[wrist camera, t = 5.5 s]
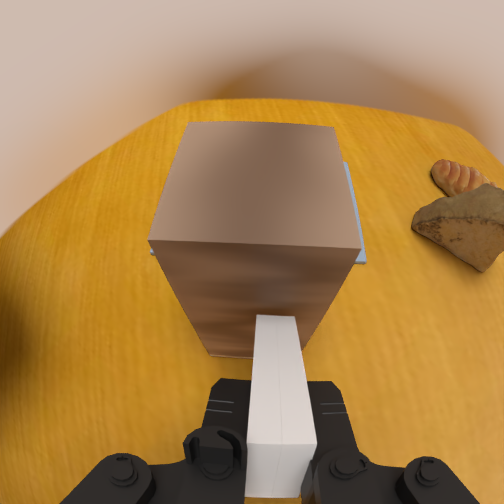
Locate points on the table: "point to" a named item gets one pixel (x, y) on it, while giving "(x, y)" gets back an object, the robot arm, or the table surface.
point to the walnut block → (255, 228)
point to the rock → (466, 224)
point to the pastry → (457, 177)
